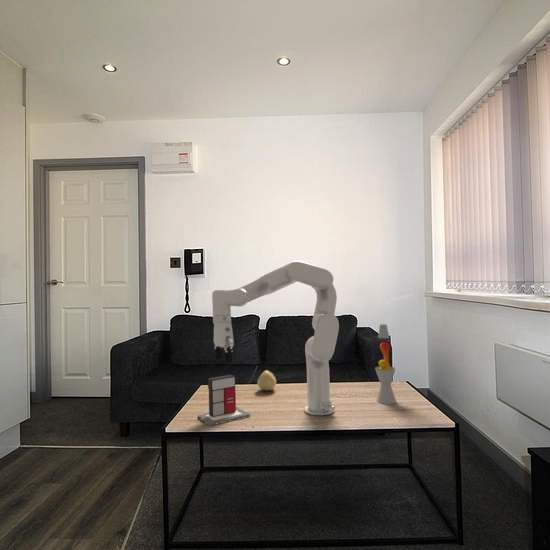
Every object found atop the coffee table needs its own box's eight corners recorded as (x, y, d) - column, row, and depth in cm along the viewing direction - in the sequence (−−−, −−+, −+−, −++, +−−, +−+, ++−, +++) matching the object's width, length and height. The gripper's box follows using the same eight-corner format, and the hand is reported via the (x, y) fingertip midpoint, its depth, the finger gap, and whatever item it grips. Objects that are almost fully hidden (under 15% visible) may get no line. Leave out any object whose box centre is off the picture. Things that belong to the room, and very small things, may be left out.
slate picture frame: (250, 416, 152) (249, 413, 152) (209, 426, 142) (209, 423, 142) (236, 409, 162) (236, 406, 162) (197, 417, 152) (197, 415, 153)
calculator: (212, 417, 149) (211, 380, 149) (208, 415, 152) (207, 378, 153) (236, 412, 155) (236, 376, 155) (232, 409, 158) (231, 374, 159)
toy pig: (278, 387, 197) (277, 367, 198) (275, 393, 185) (274, 372, 186) (260, 387, 199) (259, 367, 199) (256, 393, 187) (255, 372, 187)
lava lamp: (385, 397, 174) (382, 323, 176) (401, 401, 167) (397, 324, 168) (371, 400, 169) (368, 324, 171) (387, 405, 162) (384, 325, 163)
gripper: (239, 319, 149) (241, 362, 148) (221, 318, 164) (223, 356, 163) (222, 320, 145) (224, 364, 144) (205, 319, 159) (207, 359, 159)
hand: (223, 360), depth 153 cm, fingers open, 9 cm apart
